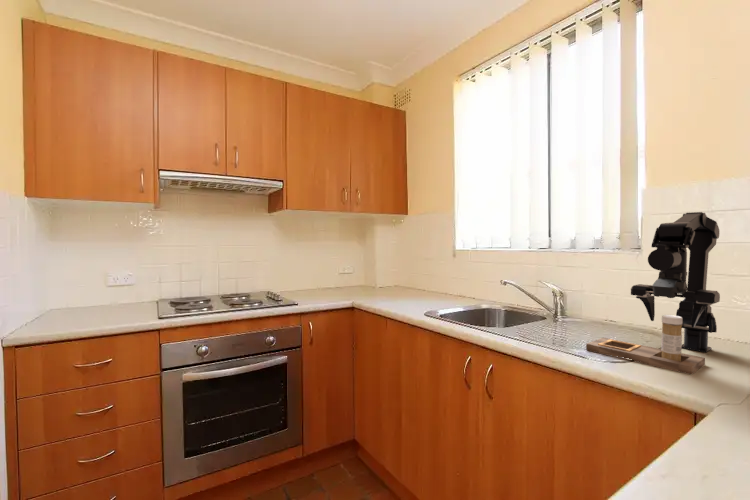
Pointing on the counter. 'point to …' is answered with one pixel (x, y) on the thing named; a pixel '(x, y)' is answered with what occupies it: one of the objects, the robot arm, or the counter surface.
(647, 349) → the rail
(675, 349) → the sprinkles bottle
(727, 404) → the counter surface
